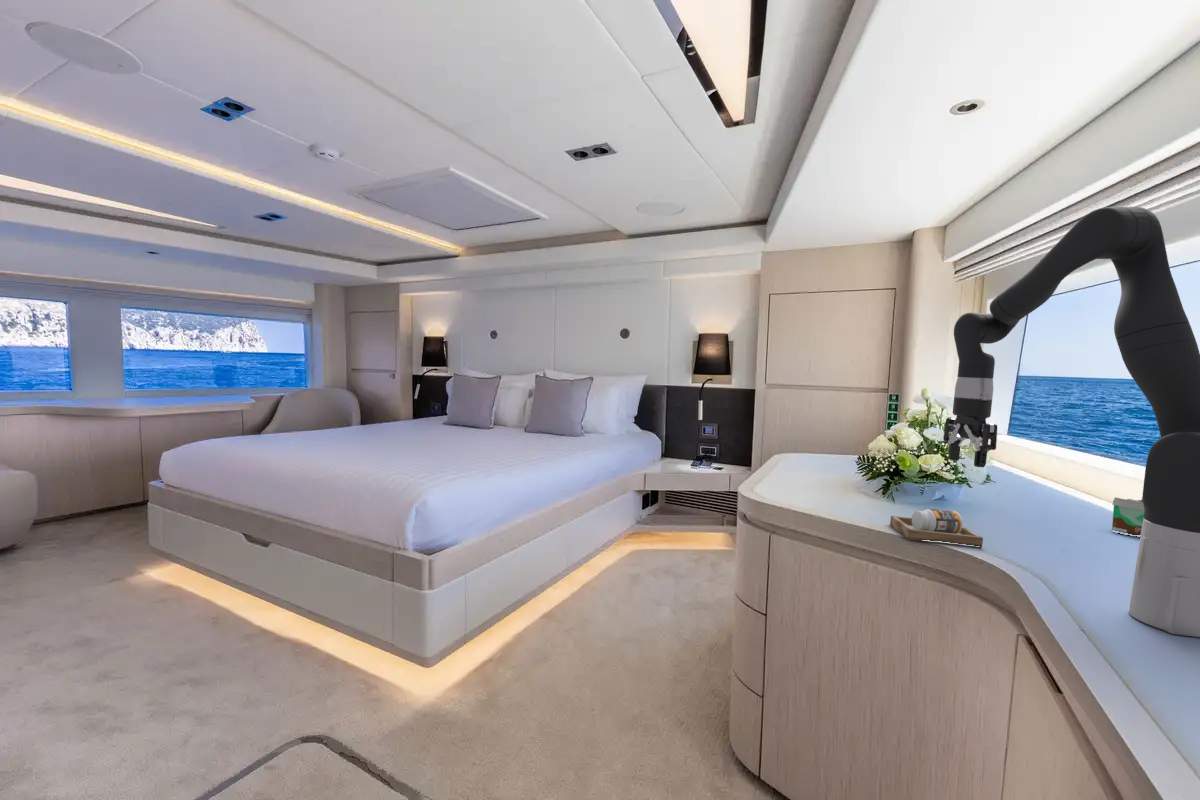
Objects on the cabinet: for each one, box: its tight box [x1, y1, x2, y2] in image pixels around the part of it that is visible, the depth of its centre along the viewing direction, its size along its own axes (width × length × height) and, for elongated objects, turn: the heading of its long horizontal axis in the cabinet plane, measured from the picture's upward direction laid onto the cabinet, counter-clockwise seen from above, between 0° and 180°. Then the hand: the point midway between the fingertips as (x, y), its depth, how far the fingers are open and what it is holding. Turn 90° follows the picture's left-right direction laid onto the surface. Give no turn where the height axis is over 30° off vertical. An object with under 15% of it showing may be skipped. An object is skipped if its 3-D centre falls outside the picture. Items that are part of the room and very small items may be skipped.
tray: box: [889, 515, 984, 548], centre depth 131 cm, size 12×16×2 cm
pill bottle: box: [911, 508, 964, 534], centre depth 132 cm, size 6×6×10 cm
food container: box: [1111, 497, 1144, 535], centre depth 144 cm, size 12×6×10 cm, turn 105°
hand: (966, 463), depth 127 cm, fingers open, 8 cm apart
